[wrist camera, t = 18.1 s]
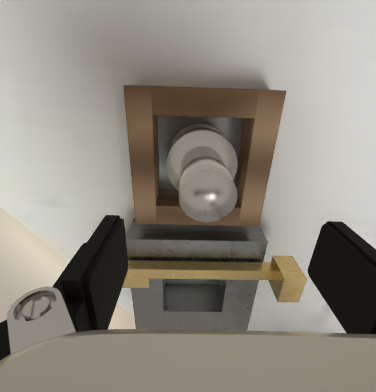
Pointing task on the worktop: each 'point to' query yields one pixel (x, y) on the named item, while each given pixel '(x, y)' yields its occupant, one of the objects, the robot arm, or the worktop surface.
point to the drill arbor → (203, 172)
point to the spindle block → (195, 294)
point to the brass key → (223, 274)
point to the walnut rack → (201, 107)
